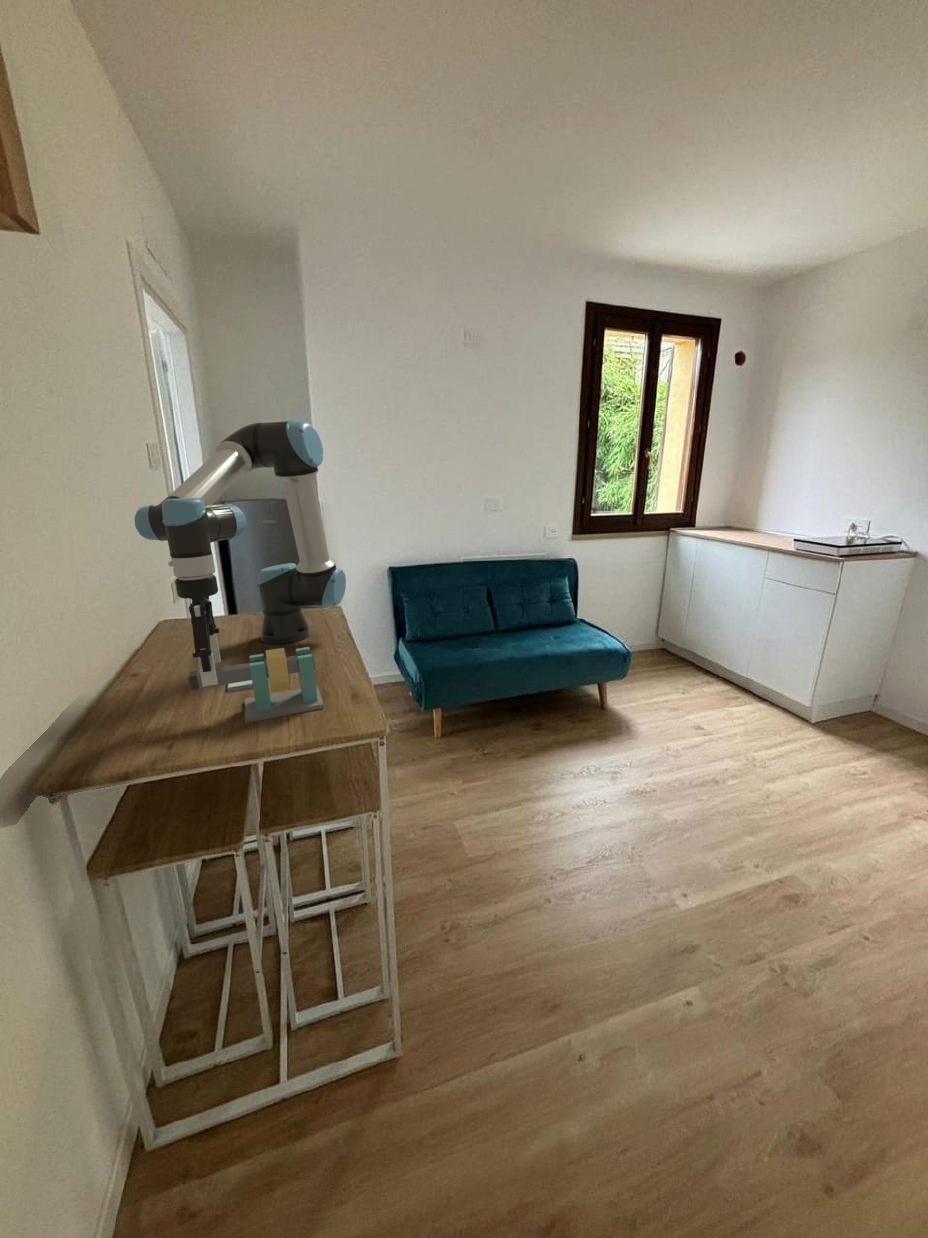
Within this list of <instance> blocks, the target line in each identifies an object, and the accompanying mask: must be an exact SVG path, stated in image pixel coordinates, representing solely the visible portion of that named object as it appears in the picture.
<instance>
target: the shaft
mask: <svg viewBox="0 0 928 1238" xmlns="http://www.w3.org/2000/svg"><path fill="white" fill-rule="evenodd" d="M310 654H312V658H313V667H314V671H315V670H316V661H315V656H314V653H313V652H310ZM303 655H308V654H303ZM298 656H302V655H292V656H286V661H287V669H288V675H291V674H297V673H298V674H299V672H300V670H299V663H298ZM258 662H263V661H258ZM264 662H265V669H266V675H267V678H269V673H268V666H267V660H266V659H265V660H264ZM251 663H256V662H251ZM215 671H216V676H217V682H218V684H217V685H211V686H204V687H203V685H202V680H201V674H200V669H199V670H198V669H197V670H191V671H189V675H188V680H189V686H190V690H191V691H194V690H200V689H207V688H213V687H218V686H225V685H228V684H231V683H237V682H243V681H249V680H252V677H251V671H250V662H247V663H240V664H233V665H227V666H226V665H225V666H219V667H215Z"/></svg>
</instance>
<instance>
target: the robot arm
mask: <svg viewBox="0 0 928 1238" xmlns="http://www.w3.org/2000/svg"><path fill="white" fill-rule="evenodd" d="M323 455H324V448H323V443H322V440H321V437H320V436H319V434H318V432H317V430H316V429H315V428H314V426H313V425H312V424H310V423H309V422H307V421H298V420H287V421H285V420H284V421H274V422H273V421H272V422H253V423H251V424H248V425H245V426H243V427H241V428H239V429H238V430H236V431H234V432H233V433H231V434H229V435H228V436H227V437H225V438H224V440H222V441H221V442H220V443H219V444H218V445H217V446H216V449H215V452H214V454H213V455H212V456H211V457H210V458H209V459H207V460H206V461H205V462H204V463H203V464H202V465H201V466H200V467H198V469H196V470H195V471H194V472H193V473H192V474H190V476H189V477H188V478H186V479H185V480H184V481H183V482H182V483H181V484H180V485H179V486H178V487H176V489H174V490H173V491H172V492H171V493H170V494H169V495H168V496H167V497H165V498H164V499H163V500H162V501H161V502H160V503H159V504H157V505H154V504H151V505H146V506H142V507H140V508H139V509H138V510H136V513H135V515H134V526H135V528H136V530H137V532H138V533H139V535H140V536H141V537H142V538H144V539H146V540H148V541H149V540H150V541H160V542H164V541H166V542H167V545H168V549H169V556H170V560H171V561H168V566H169V567H173V568H172V571H173V575H174V577H176V579H175V580H174V584H175V588H176V594H177V597H179V598H180V599H185V600H186V599H189V600H191V603H189V606H188V609H189V610H188V612H189V614H190V619H191V626H192V636H193V643H194V653H192V658H197V662H198V668H199V670H200V674H201V680H202V685H203V687H204V686H211V685H217V684H218V682H217V676H216V671H215V668H216V665H215V664H219V663H222V660H221V654H220V653H221V652H220V649H219V642H218V637H217V634H220V629H219V627H218V628H217V625H216V623H215V619H214V618H215V617H214V613H213V604H212V603H213V602H212V601H210V596H211V597H212V596H214V595H216V594H218V592H219V586H218V581H217V576H215V575H214V574H215V572H216V566H215V560H214V554H213V552H212V546H211V544H212V543H215V542H219V541H225V540H233V539H234V538H237V537H239V536H241V535H243V533H244V532H245V530H246V525H247V519H246V516H245V514H244V512H243V511H242V510H241V508H240V507H238V506H237V505H234V504H233V503H232V504H231V503H219V504H214V503H215V501H216V500H218V498H219V497H220V496H222V495H223V493H225V491H227V489H228V488H229V487H231V485H232V484H233V483H234V482H235V481H236V480H237V479H238V478H239V477H240V476H241V477H242V476H246V475H247V474H249V473H250V472H251V471H252V470H255V469H260V468H261V469H263V468H273V471H274V476H275V477H276V478H277V479H279V480H280V481H281V482H282V485H283V489H284V490H283V491H284V494H285V501H286V504H287V510H288V514H289V518H290V523H291V526H292V531H293V536H294V540H295V546H296V550H297V554H298V559H299V562H298V563H297V564H296V563H293V562H290V563H282V564H277V565H271V566H268V567H265V568H262V569H260V570H259V571H258V574H257V579H258V581H257V582H258V584H257V585H258V587H259V595H260V600H261V608H262V612H263V613H262V614H263V617H262V623H261V626H260V627H261V628H260V640H261V641H262V642H263V643H265V644H271V645H281V644H282V645H283V644H290V643H294V642H298V641H301V640H305V639H306V638H308V637H309V636H310V635H311V628H310V625H309V623H308V621H307V618H306V617H305V615H304V613H303V609H302V607H315V608H316V607H317V608H321V607H322V608H327V607H328V608H330V607H336V606H338V605H339V604H340V603H341V602H342V600H343V598H344V595H345V592H346V588H347V587H346V585H347V580H346V574H345V572H344V570H343V569H340V568H337V565H336V561H335V560H334V559H333V558H331V556H330V555H329V550H328V545H327V540H326V535H325V534H326V533H325V529H324V524H323V523H324V522H323V519H322V511H321V508H320V502H319V498H318V491H317V487H316V482H315V477H316V476H317V474H318V472H319V467H320V465H321V464H323V463H322V462H323V459H324V457H323Z"/></svg>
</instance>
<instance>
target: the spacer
mask: <svg viewBox="0 0 928 1238" xmlns="http://www.w3.org/2000/svg"><path fill="white" fill-rule="evenodd" d="M265 657H266V658H265V660H267V666H268V673H269V677H268V679H269V680H268V681H269V684H270V685H269V687H270V691H271V693H276V692H282V691H288V690H291V687H290V686H291V685H290V684H291V683H290V678H289V674H288V669H287V661H286V657H287V656H286V651H285V648H284V647H281V648H273V649H268V650H265Z"/></svg>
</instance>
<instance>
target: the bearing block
mask: <svg viewBox="0 0 928 1238" xmlns="http://www.w3.org/2000/svg"><path fill="white" fill-rule="evenodd" d="M295 653H296V655H295V656H297V655H302V656H298V663H299V670H300V672H298V676H299V684H300V688H297V689H289V690H283V691H277V692H272V693H270V685H269V680H268V679H269V678H268V677H267V675H266V669H265V662H264V660H266V658H265V654H264V653H259V654H253V655H249V663H250V671H251V677H252V684H253V688H252V689H253V695H254V696H251V697H246V698H245V697H244V721H245V724H249V723H253V722H257V721H264V720H267V719H274V718H278V717H285V716H290V715H295V714H299V713H300V714H301V713H307V712H310V711H315V710H316V711H317V710H322V709H324V707H325V705H324V702H323V698H322V696H321V692H320V689H319V686H318V685H316V677H315V670H314V667H313V658H312V654H310V653H311V649H310V646H306V647H301V648H299V647H298V648H296V649H295ZM303 654H308V655H303ZM258 661H263V662H258ZM251 662H256V663H251Z"/></svg>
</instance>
